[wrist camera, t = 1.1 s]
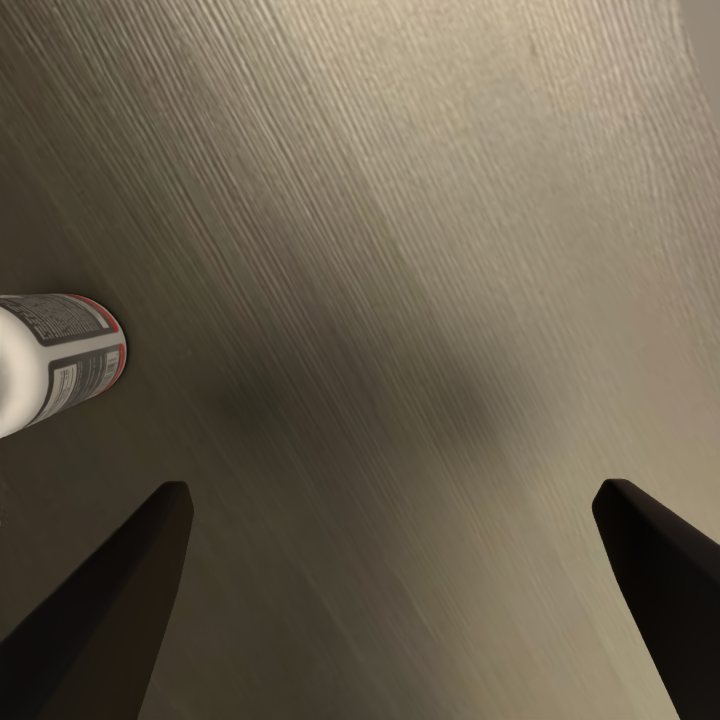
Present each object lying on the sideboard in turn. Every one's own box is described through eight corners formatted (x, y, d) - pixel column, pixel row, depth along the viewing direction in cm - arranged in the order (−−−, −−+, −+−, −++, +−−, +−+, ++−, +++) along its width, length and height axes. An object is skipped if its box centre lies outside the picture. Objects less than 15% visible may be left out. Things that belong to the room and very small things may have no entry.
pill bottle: (4, 310, 22) (-257, 326, 12) (107, 280, 22) (-72, 272, 12) (48, 410, 23) (-161, 497, 13) (146, 380, 23) (9, 446, 14)
